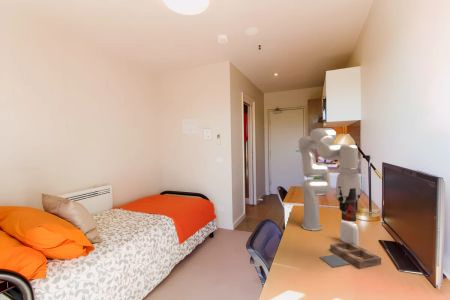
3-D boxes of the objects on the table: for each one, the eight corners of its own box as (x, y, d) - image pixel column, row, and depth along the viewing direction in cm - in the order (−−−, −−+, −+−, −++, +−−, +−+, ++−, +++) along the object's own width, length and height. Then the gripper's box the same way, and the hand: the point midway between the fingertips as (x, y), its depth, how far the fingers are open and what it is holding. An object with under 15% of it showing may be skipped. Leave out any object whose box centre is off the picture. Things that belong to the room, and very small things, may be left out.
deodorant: (357, 219, 103) (357, 187, 103) (354, 222, 99) (353, 189, 98) (343, 216, 107) (343, 185, 107) (339, 219, 103) (339, 187, 103)
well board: (330, 250, 114) (330, 244, 114) (349, 246, 118) (349, 241, 117) (359, 268, 97) (359, 262, 97) (381, 264, 100) (381, 257, 100)
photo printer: (339, 239, 126) (339, 218, 126) (345, 238, 127) (345, 217, 127) (353, 247, 116) (353, 224, 116) (360, 246, 117) (360, 223, 117)
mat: (319, 257, 107) (319, 257, 107) (335, 255, 109) (335, 254, 109) (333, 267, 98) (333, 266, 98) (349, 264, 100) (349, 263, 100)
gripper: (356, 169, 108) (356, 206, 109) (327, 171, 103) (327, 209, 104) (370, 171, 101) (370, 210, 102) (339, 173, 96) (339, 214, 97)
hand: (348, 209), depth 103 cm, fingers closed on deodorant, 6 cm apart
